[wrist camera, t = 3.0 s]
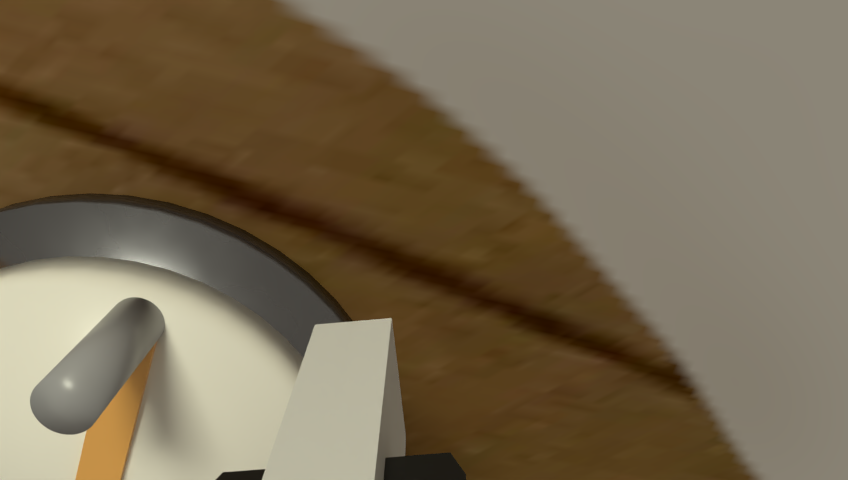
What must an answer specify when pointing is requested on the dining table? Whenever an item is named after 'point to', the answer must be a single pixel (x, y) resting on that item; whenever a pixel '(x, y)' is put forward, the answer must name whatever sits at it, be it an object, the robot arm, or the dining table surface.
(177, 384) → the dial
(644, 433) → the dining table surface
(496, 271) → the dining table surface
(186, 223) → the dial base
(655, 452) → the dining table surface
